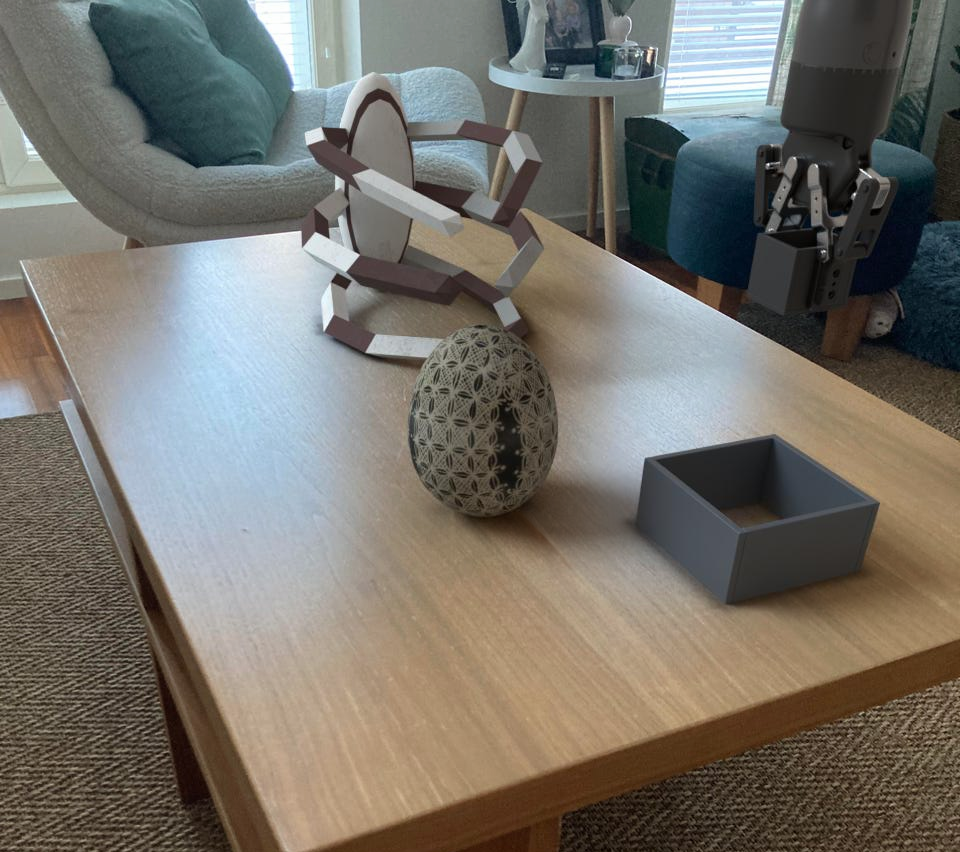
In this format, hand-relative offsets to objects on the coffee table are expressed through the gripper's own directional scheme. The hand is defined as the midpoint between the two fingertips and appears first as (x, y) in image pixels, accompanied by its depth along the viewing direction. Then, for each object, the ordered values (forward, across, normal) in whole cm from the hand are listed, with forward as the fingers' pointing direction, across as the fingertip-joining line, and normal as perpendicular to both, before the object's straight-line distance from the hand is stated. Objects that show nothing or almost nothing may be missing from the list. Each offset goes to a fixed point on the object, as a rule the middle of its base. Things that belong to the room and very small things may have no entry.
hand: (796, 297), depth 83 cm
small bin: (0, 0, 0) cm, 0 cm away
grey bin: (+15, -12, +10) cm, 22 cm away
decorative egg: (+15, +2, +26) cm, 31 cm away
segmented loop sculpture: (+15, +44, +16) cm, 49 cm away
